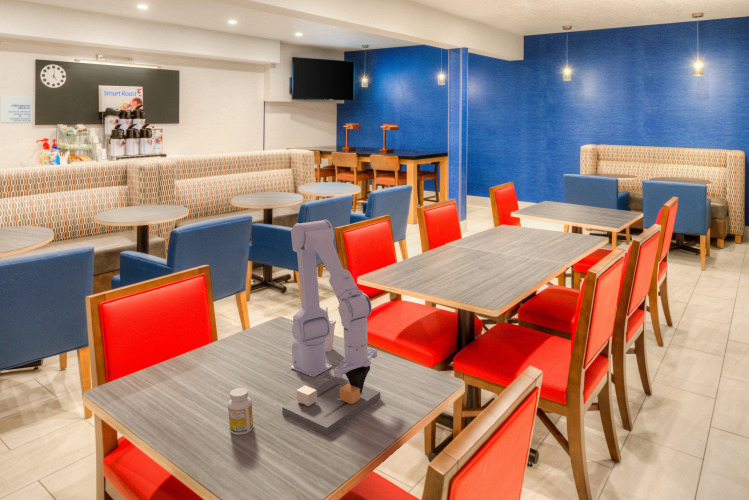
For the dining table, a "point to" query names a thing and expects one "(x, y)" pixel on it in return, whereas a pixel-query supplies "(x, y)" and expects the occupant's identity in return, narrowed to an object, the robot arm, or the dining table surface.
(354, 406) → the fader console
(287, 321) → the dining table surface
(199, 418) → the dining table surface
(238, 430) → the supplement bottle
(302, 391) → the off white fader
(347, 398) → the block
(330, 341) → the smoothie
